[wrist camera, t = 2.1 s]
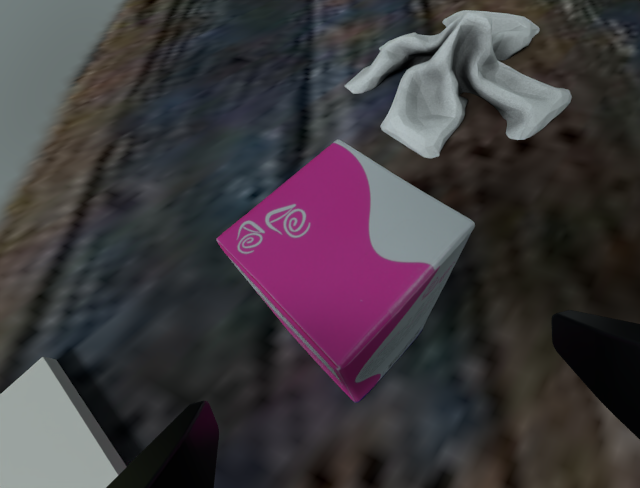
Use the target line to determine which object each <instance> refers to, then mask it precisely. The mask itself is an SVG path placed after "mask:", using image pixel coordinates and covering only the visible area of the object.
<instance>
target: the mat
mask: <svg viewBox="0 0 640 488" xmlns="http://www.w3.org/2000/svg"><path fill="white" fill-rule="evenodd" d="M125 468H126V465H125V463H124V462H123V460H122V459H121V457H120V456H119V454H118V453H117V451H116V450H115V448H114V447H113V445H112V444H111V442H110V441H109V439H108V438H107V436H106V435H105V433H104V432H103V430H102V428H101V427H100V425H99V424H98V422H97V421H96V419H95V418H94V416H93V415H92V413H91V412H90V410H89V409H88V407H87V406H86V404H85V403H84V401H83V400H82V398H81V397H80V395H79V394H78V392H77V390H76V389H75V387H74V386H73V384H72V383H71V381H70V380H69V378H68V377H67V375H66V374H65V372H64V371H63V369H62V368H61V366H60V365H59V363H58V362H57V360H55V359H51V358H46V357H42V358H41V359H40V360H39V361H37V362H36V363H35V364H34V365H33V366H32V367H31V368H30V369H28V370H27V371H26V372H25V373H24V374H23V375H22V376H21V377H19V378H18V379H17V380H16V381H15V382H14V383H13V384H12V385H10V386H9V387H8V388H7V389H6V390H5V391H4V392H2V393H1V394H0V488H106V487H107V486H108V485H109V484H110V483H111V482H112V481H113V480H114V479H115V478H116V477H117V476H118V475H119V474H120V473H121V472H122V471H123V470H124V469H125Z"/></svg>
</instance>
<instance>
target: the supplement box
mask: <svg viewBox="0 0 640 488" xmlns="http://www.w3.org/2000/svg"><path fill="white" fill-rule="evenodd" d="M474 227H475V223H474V222H473V221H472V220H471V219H469V218H467V217H465V216H464V215H462V214H460V213H459V212H457V211H455V210H453V209H452V208H450V207H448V206H446V205H445V204H443V203H441V202H440V201H438V200H436V199H435V198H433V197H431V196H430V195H428V194H426V193H424V192H423V191H421V190H419V189H418V188H416V187H414V186H413V185H411V184H409V183H408V182H406V181H404V180H403V179H401V178H400V177H398V176H396V175H395V174H393V173H391V172H390V171H388V170H387V169H385V168H384V167H382V166H380V165H379V164H377V163H376V162H374V161H373V160H371V159H369V158H368V157H366V156H365V155H363V154H361V153H360V152H358V151H357V150H355V149H353V148H352V147H350V146H349V145H347V144H345V143H344V142H342V141H340V140H336V141H335V142H333V143H332V144H331V145H330V146H329V147H327V148H326V149H325V150H324V151H322V152H321V153H320V154H319V155H318V156H317V157H315V158H314V159H313V160H312V161H310V162H309V163H308V164H307V165H305V166H304V167H303V168H302V169H301V170H299V171H298V172H297V173H296V174H295V175H293V176H292V177H291V178H290V179H288V180H287V181H286V182H285V183H284V184H282V185H281V186H280V187H279V188H278V189H276V190H275V191H274V192H273V193H272V194H270V195H269V196H268V197H267V198H265V199H264V200H263V201H262V202H261V203H259V204H258V205H257V206H256V207H254V208H253V209H252V210H251V211H249V212H248V213H247V214H246V215H245V216H243V217H242V218H241V219H240V220H238V221H237V222H236V223H235V224H233V225H232V226H231V227H230V228H229V229H227V230H226V231H225V232H224V233H222V234H221V235H220V236H219V237H218V238H217V239H216V240H217V242H218V244H219V245H220V247H221V248H222V250H223V251H224V252H225V254H226V255H227V256H228V257H229V259H230V260H231V261H232V262H233V263H234V265H235V266H236V267H237V269H238V270H239V271H240V272H241V273H242V275H243V276H244V277H245V278H246V279H247V280H248V282H249V283H250V284H251V286H252V287H253V288H254V289H255V291H256V292H257V293H258V294H259V295H260V297H261V298H262V299H263V300H264V301H265V303H266V304H267V305H268V306H269V308H270V309H271V310H272V311H273V312H274V314H275V315H276V316H277V317H278V319H279V320H280V321H281V322H282V324H283V325H284V326H285V327H286V329H287V330H288V331H289V332H290V333H291V335H292V336H293V337H294V338H295V339H296V340H297V341H298V342H299V343H300V344H301V346H302V347H303V348H304V349H305V350H306V351H307V352H308V353H309V354H310V356H311V357H312V358H313V359H314V360H315V361H316V362H317V363H318V364H319V365H320V367H321V368H322V369H323V370H324V371H325V372H326V373H327V374H328V375H329V376H330V377H331V378H332V379H333V380H334V382H335V383H336V384H337V385H338V386H339V387H340V388H341V389H342V390H343V391H344V392H345V393H346V394H347V395H348V396H349V397H350V398H351V399H352V400H353V401H354V402H356V403H358V402H359V401H361V400H362V399H363V398H364V397H365V396H366V395H367V394H368V393H369V392H370V391H371V389H372V388H373V387H374V386H375V385H376V384H377V383H378V382H379V381H380V380H381V378H382V377H383V376H384V375H385V374H386V373H387V372H388V370H389V369H390V368H391V367H392V366H393V365H394V364H395V362H396V361H397V360H398V359H399V358H400V357H401V356H402V354H403V353H404V352H405V351H406V350H407V349H408V347H409V346H410V345H411V344H412V343H413V341H414V340H415V339H416V338H417V336H418V335H419V334H420V333H421V332H422V330H423V327H424V325H425V323H426V320H427V318H428V316H429V314H430V312H431V310H432V308H433V306H434V305H435V303H436V301H437V299H438V297H439V295H440V293H441V291H442V289H443V287H444V285H445V283H446V281H447V280H448V278H449V276H450V274H451V271H452V269H453V268H454V266H455V264H456V262H457V260H458V258H459V256H460V254H461V252H462V250H463V248H464V246H465V244H466V242H467V240H468V238H469V236H470V234H471V232H472V230H473V229H474Z"/></svg>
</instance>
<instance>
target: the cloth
mask: <svg viewBox="0 0 640 488" xmlns="http://www.w3.org/2000/svg"><path fill="white" fill-rule="evenodd" d="M443 24H444V25H445V26H446V28H445V29H444V30H443V31H442V32H441V33H440V34H437V35H433V36H427V35H418V34H416V33H411V34H408V35H404V36H401V37H398V38H395V39H393V40H391V41H388V42H387V43H386V44H384V45H383V46H382V47H380V48H379V50H381V52H380V53H379V54H378V56H377V57H376V59H375V60H374V62H373V63H372V65H371V66H369V67H366V68H364V69H363V70H362V71H361V72H360V73H358V74H357V75H356V76H355V77H354V78H353V79H352V80H351V81H349V82H348V83H347V84H346V85H345V87H346V88H347V89H349V90H350V91H351V92H352V93H363V92H366V91H368V90H371V89H373V88H375V87H376V86H378V85H379V84H380V83H381V82H382V81H383V79H384V78H385V77H386V76H388V75H389V74H391V73H393V72H395V71H397V70H403V69H404V68H407V67H411V68H409V69H408V70H407V71H406V72H405V74H404V75H403V77H402V79H401V81H400V84H399V87H398V90H397V93H396V96H395V98H394V101H393V103H392V106H391V108H390V110H389V112H388V114H387V116H386V118H385V120H384V121H383V123H382V124H381V128H382V131H384V132H385V133H387V134H388V135H390V136H391V137H393V138H394V139H396V140H398V141H399V142H401V143H402V144H404V145H405V146H407V147H408V148H410V149H411V150H413V151H415V152H416V153H418V154H419V155H421V156H423V157H425V158H434V157H437V156H439V155H440V154H439V153H440V151H441V149H442V147H443V145H444V144H445V142H446V140H447V139H448V138H449V137H450V136H451V135H452V134H453V132H454V131H455V130H456V129H457V128H458V127H459V125H460V124H461V122H462V120H463V119H464V116H465V107H466V104H467V102H468V99H466V98H464V97H461V96H460V94H462V93H463V92H467V93H472V94H475V95H477V96H479V97H481V98H483V99H485V100H486V101H488V102H489V103H490V104H491V105H493V106H494V107H495V108H496V109H497V110H498V111H499V112H500V114H501V115H502V117H503V118H504V119H506V120H507V129H506V134H507V136H508V137H509V138H511V139H516V140H525V139H526V138H529V137H531V136H533V135H535V134H536V133H538V132H539V131H540V130H542V129H543V128H544V127H545V126H546V125H547V124H548V123H549V122H550V121H551V120H552V119H554V118H555V117H556V116H557V115H558V114H560V113H561V112H562V111H563V110H564V109H565V108H566V107H567V106H568V104H569V103H570V101H571V98H572V96H571V94H570V91H569V90H567V89H563V88H554V87H552V86H549V85H547V84H544V83H542V82H539V81H537V80H535V79H532V78H530V77H527V76H525V75H523V74H521V73H519V72H518V71H516V70H514V69H513V68H511V67H509V66H507V65H505V64H503V63H501V62H499V61H498V60H506V59H509V58H510V57H511V56H512V55H514V54H515V53H517V52H518V51H519V50H521V49H522V48H524V47H526V46H528V45H529V43H530V41H531V39H532V38H533V37H534V36H535V35H536V34H537V33H538V32H539V30H540V28H539V27H538V26H536V25H535V24H534V23H532V22H531V21H530V20H528V19H527V18H525V17H522V16H517V15H512V14H504V13H494V12H486V11H468V10H464V11H460V12H457V13H455V14H453V15H452V16H450V17H448V18H446V19H444V21H443Z"/></svg>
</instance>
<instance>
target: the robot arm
mask: <svg viewBox="0 0 640 488" xmlns="http://www.w3.org/2000/svg"><path fill="white" fill-rule="evenodd" d="M552 341H553V345H554V348H555V349H556V351H557V352H558V354H559V355H560V356H561V357H562V358H563V359H564V360H565V361H566V363H567V364H568V365H569V366H570V367H571V368H572V369H573V371H574V372H575V373H576V374H577V375H578V376H579V377H580V379H581V380H582V381H583V382H584V383H585V384H586V385H587V387H588V388H589V389H590V390H591V391H592V392H593V393H594V394H595V396H596V397H597V398H598V399H599V400H600V401H601V402H602V403H603V404H604V405H605V406H606V407H607V408H608V409H609V410H610V411H611V412H612V413H613V414H614V415H615V416H616V417H617V418H618V419H619V420H620V421H621V422H622V423H623V424H624V425H625V426H626V427H627V428H628V429H629V430H630V431H631V432H633V433H634V434H635V435H636V436H637V437H638V438H639V439H640V324H636V323H631V322H626V321H621V320H616V319H612V318H607V317H602V316H597V315H592V314H587V313H582V312H577V311H572V310H568V311H564V312H560V313H556V314H554V315H553V316H552ZM218 440H219V429H218V425H217V422H216V420H215V417H214V415H213V412H212V410H211V407H210V405H209V403H208V402H207V401H201V402H197V403H193V404H190V405H189V406H188V407H187V408H186V409H185V410H184V411H183V412H182V413H181V414H180V415H179V416H178V417H177V418H176V419H175V420H174V421H173V422H172V423H171V424H170V425H169V426H168V427H167V428H166V429H165V430H164V431H162V432H161V433H160V434H159V435H158V436H157V437H156V438H155V439H154V440H153V441H152V442H151V443H150V444H149V445H148V446H147V447H146V448H145V449H144V450H143V451H142V452H141V453H140V454H139V455H138V456H137V457H136V458H135V459H134V460H133V461H132V462H131V463H130V464H129V465H128V466H127V467H126V468H125V469H124V470H123V471H122V472H121V473H120V474H119V475H118V476H117V477H116V478H115V479H114V480H113V481H112V482H111V483H110V484H109V485H108V486H107V487H106V488H214V479H215V469H216V459H217V449H218Z"/></svg>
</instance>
